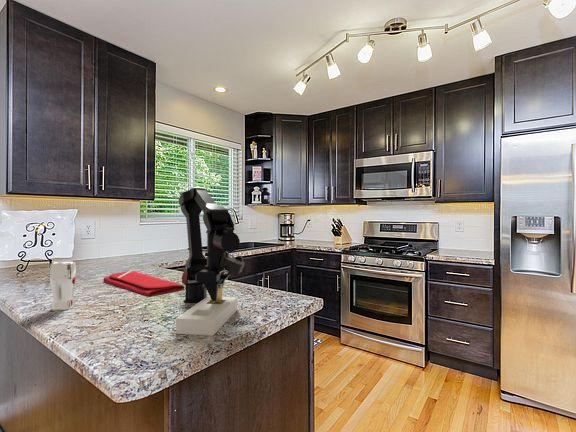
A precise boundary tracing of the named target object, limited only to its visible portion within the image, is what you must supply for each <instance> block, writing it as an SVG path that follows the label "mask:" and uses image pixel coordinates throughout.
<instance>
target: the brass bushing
mask: <svg viewBox="0 0 576 432" xmlns="http://www.w3.org/2000/svg"><path fill="white" fill-rule="evenodd" d="M222 297H223V289H222V283H219V285H218V292H217V298H216V301H212V299H211V303H210V304H222Z"/></svg>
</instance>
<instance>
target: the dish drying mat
mask: <svg viewBox="0 0 576 432" xmlns="http://www.w3.org/2000/svg"><path fill="white" fill-rule="evenodd" d="M103 282H104V283H107V284H109V285H112V286H115V287H119V288H121V289H123V290H124V289H125V290H127V291H131V292H135V293H137V294H140V295H143V296H144V295H145V296H147V297H153V296H157V295H163V294H168V293H172V292H176V291H181V290H182V291H183V290H184V289H186V286H185V285H184V284H180V283H178V282H175V281H171V280H168V279H162V278H159V277H155V276H152V275H149V274H148V275H147V274H145V273H142V272H138V271H134V270H131V271H124V272H123V271H122V272H116V273H112V274H110V275H109V276H105V277H104V278H103Z"/></svg>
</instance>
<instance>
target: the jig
mask: <svg viewBox="0 0 576 432" xmlns="http://www.w3.org/2000/svg"><path fill="white" fill-rule="evenodd" d="M210 303H211V297H210V296H207V297H206V298H205V299H203V300H202V301H200V302H199V303H198V302H196V303H195V304H194V305H193V306H192V307H190V308H189V309H187V310H186V311H185V312H183V313H182V314H181V315H179V316H177V317H176V318H175V334H177V335H193V336H196V335H197V336H208V337H213V336H214V335H215V334H216V333H217V332H218V331H219V330H220V329H221V328H222V327H223V325H225V323H227V321H229V320H230V318H232V316H233V315H234V314H235V313H236V312H237V310H238V297H232V296H231V297H230V296H229V297H228V296H226V297H225V296H222V304H210Z"/></svg>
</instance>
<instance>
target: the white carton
mask: <svg viewBox="0 0 576 432" xmlns="http://www.w3.org/2000/svg"><path fill="white" fill-rule="evenodd" d="M76 269H77V267H76V261H74V260H61V261H55V262H51V263H50V268H49V282H50V288H51V289H50V290H51V292H52V305H51V310H52V311H54V312H57V311H58V312H61V311H66V310H67V311H68V310H70V309H71V310H72V309H73V308H75V303H74V298H73V297H74V296H73V294H74V290H75V284H76V279H77V273H76V272H77V270H76Z"/></svg>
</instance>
